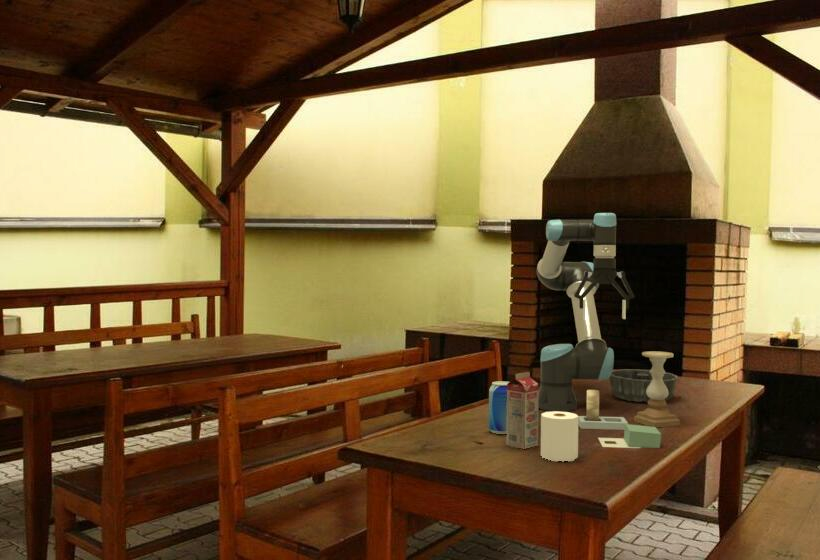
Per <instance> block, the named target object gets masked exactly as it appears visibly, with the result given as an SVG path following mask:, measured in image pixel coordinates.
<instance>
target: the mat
mask: <svg viewBox="0 0 820 560" xmlns="http://www.w3.org/2000/svg"><path fill="white" fill-rule="evenodd" d="M597 439H598V441H599V443H600V444H601V447H602V448H618V449H619V448H621V449H622V448H624V449H642V447H634V446H628V444H627V443H626V441H625V440H624V437H623V438H622V437H621V438H619V437H618V438H617V437H616V438H615V437H597ZM606 442H615V443H606Z"/></svg>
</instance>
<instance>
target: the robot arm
mask: <svg viewBox="0 0 820 560" xmlns="http://www.w3.org/2000/svg"><path fill="white" fill-rule="evenodd" d="M545 236H546V237H545V238H546V240H547V244H546V247H545V250H544V252H543V256H542V258H541V259H540V260H539V261H538V263H537V265H536V266H537V267H536V275H537V278H538V280H539V281H540V282H541V284H543V285H544V286H545V287H546V288H548V289H550V290H554V291H565V292H566V295H567V296H568V297H569V298H571V304H572V309H573V316H574V323H575V330H576V335H577V342H578V343H576V345H575V347H574V345H573V344H571V343H557V344H550V345H547V346H544V347H543V348H542V349H541V351H540V360H539V361H540V384H539V385H540V386H539V394H538V409H539V408H540V410H543V411H548V412H553V411H559V412H570V411H575V410H577V409H578V401H577V399H576V395H575V391H574V389H573V380H593V381H595V380H597V381H600V380H608V379H610V376H611V374H612V371H614V365H615V364H614V361H615V360H614V359H615V353H614V350H613V348H611V347H608V346H607V345H608V344H607V343H606V341H605V340H604V339H602V335H601V330H600V325H599V319H598V314H597V308H596V303H595V296H594V295H595V293H596V292H597V290H598V288H599V286H600V285H610V284H611V285H612V287H614V288H615V289H616V290H617V291H618V293H619V294H620V295H621V296H622V297H623V298H624V299H622V303H621V305H622V306H621V309H622V312H621V318H622V319H623V320H626V319H627V318H626V313H627V310H629V309H630V300H631V299H634V298H635V294H634V292H633V290H632V288H631V286H630V284H629V282H628V280H627V278H626V272H625V271H619V272H618V271H617V269H616V268H617V266H616V265H617V264H616V263H617V261H616V260H617V259H616V258H615V257H616V256H617V255H616V253H617V251H616V250H617V247H616V246H617V215H616V214H615V212H614V213H613V212H597V213H595V214H594V216H593V219H560V218H559V219H551V220H548V221H547V223H546V226H545ZM579 241H580V242H588V241H589V242H591V241H593V256H594V258H593V260H592V261H593V262H591V261H590V262H589V261H579V262H578V261H563V260H564V258H565V256H566V253H567V249H568V247H569V245H570V242H579ZM617 276H618V278H620V279H621V282H622V283H623V286H624V288H625V291H626V292H627V293H626V292H625V291H624V290H623V288H622V287H621V286H620V285H619V283H618V282H617V281H616V280H615V279H616V278H617Z"/></svg>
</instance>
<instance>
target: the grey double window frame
mask: <svg viewBox="0 0 820 560" xmlns="http://www.w3.org/2000/svg"><path fill="white" fill-rule="evenodd" d="M577 416H578V428H579V427H580V429H582V430H583V429H585V430H586V429H588V430H618V431H619V430H622V431H623V430H625V424H629V423H628V421H627V420H626V418H625V417H623V416H599V421H586V415H577Z"/></svg>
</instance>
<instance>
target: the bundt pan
mask: <svg viewBox="0 0 820 560" xmlns="http://www.w3.org/2000/svg"><path fill="white" fill-rule="evenodd" d="M650 370H651V369H627V368H626V369H624V368H623V369H613V370H612V374H611V376H610V378H609V382H610V390H611V393H612V394H613V396H615V397H617V398H619V399H621V400H626V401H628V402H632V401H633V402H636V403H642V402H644V403H646V404H648V401H649V400H650V398H649V397H648V396H647V394H646V389H647V387H648V386H649V384H650V383H651V381H652V375H651V373H650ZM677 380H679V377H678V375H676V374H674V373H670V372H666V373H665V374H664V376H663V382H664V384H665V386H666V387H667V389H668V392H669V394H668V396H667V397H666V398H665V399H664V400H665V401H666V402H667V401H668V400H670V399H672V397H673V395H674V394H675V389H676V384H677Z"/></svg>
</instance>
